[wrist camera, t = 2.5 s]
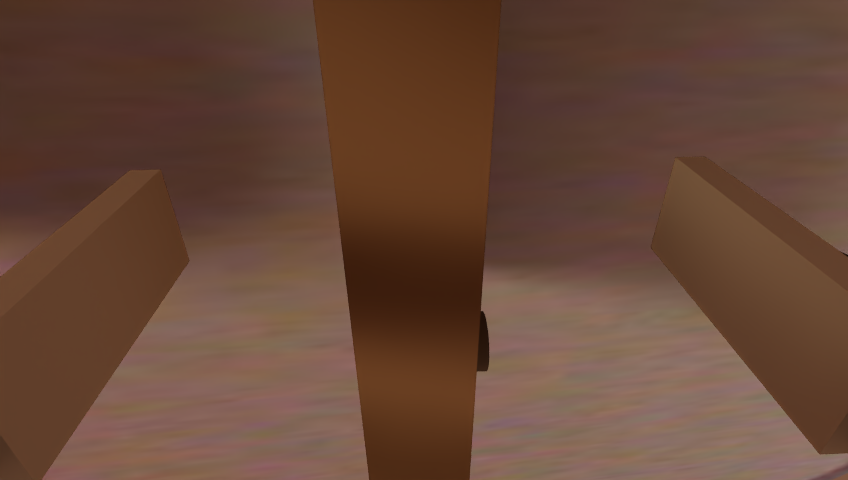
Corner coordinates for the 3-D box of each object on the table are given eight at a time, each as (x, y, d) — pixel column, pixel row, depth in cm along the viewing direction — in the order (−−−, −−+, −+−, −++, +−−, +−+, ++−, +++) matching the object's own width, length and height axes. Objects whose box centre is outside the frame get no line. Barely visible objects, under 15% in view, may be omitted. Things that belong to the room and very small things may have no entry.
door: (456, 256, 30) (508, 523, 16) (384, 259, 30) (375, 531, 16) (469, -199, 19) (672, -574, 5) (354, -199, 18) (243, -588, 5)
